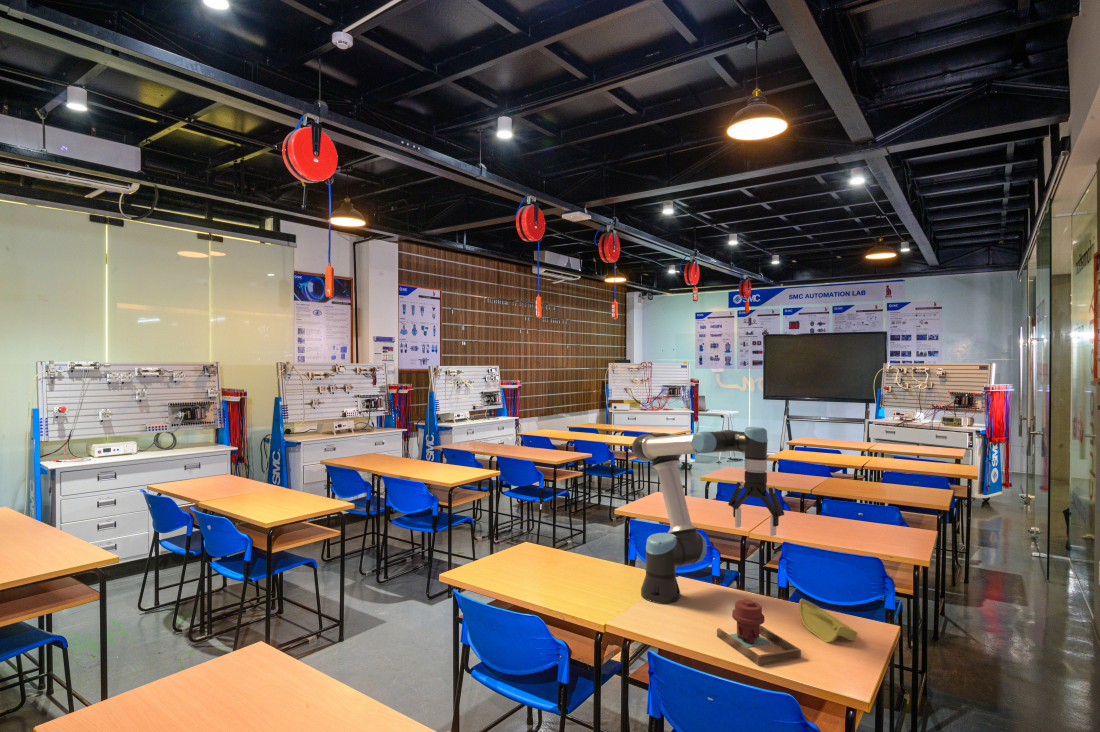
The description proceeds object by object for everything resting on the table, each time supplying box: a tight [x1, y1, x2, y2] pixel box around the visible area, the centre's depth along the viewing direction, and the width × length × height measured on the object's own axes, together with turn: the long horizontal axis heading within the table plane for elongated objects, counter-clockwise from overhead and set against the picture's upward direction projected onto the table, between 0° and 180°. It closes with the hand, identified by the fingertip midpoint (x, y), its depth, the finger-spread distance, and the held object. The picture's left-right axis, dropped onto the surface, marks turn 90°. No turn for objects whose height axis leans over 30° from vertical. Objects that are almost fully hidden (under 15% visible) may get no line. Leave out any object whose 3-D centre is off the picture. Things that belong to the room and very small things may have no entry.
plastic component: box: [798, 598, 858, 644], centre depth 190 cm, size 20×7×10 cm
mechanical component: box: [731, 598, 766, 644], centre depth 181 cm, size 12×10×10 cm
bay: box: [716, 624, 802, 667], centre depth 177 cm, size 20×16×2 cm
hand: (755, 531), depth 197 cm, fingers open, 13 cm apart
